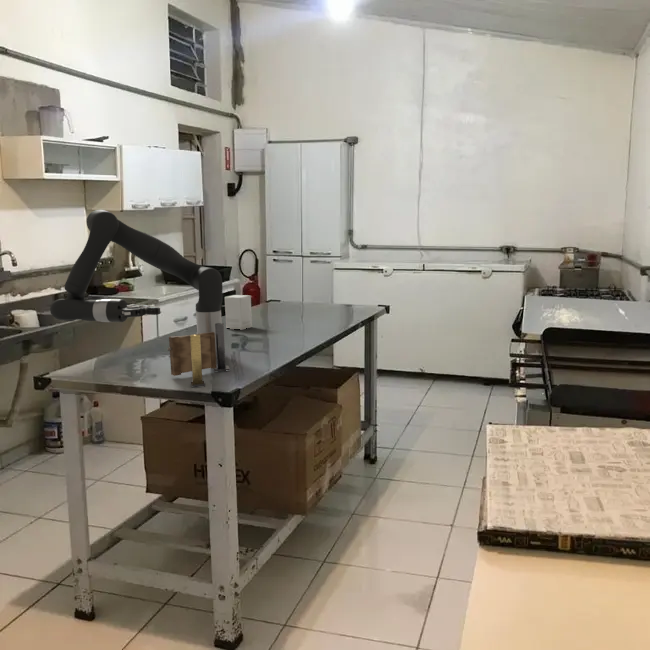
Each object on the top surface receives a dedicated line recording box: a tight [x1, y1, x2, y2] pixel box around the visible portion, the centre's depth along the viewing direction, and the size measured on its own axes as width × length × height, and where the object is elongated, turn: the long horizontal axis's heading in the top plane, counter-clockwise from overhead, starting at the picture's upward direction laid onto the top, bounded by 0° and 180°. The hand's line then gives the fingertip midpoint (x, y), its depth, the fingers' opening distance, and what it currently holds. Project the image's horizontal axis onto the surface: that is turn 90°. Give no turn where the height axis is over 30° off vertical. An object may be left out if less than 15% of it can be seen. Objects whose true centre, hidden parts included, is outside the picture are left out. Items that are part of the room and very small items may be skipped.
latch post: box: [189, 333, 206, 387], centre depth 216 cm, size 4×4×16 cm
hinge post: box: [213, 322, 231, 372], centre depth 236 cm, size 5×5×16 cm
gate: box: [167, 332, 217, 377], centre depth 230 cm, size 17×2×13 cm, turn 128°
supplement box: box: [223, 294, 253, 331], centre depth 319 cm, size 9×9×15 cm
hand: (159, 311), depth 226 cm, fingers closed
